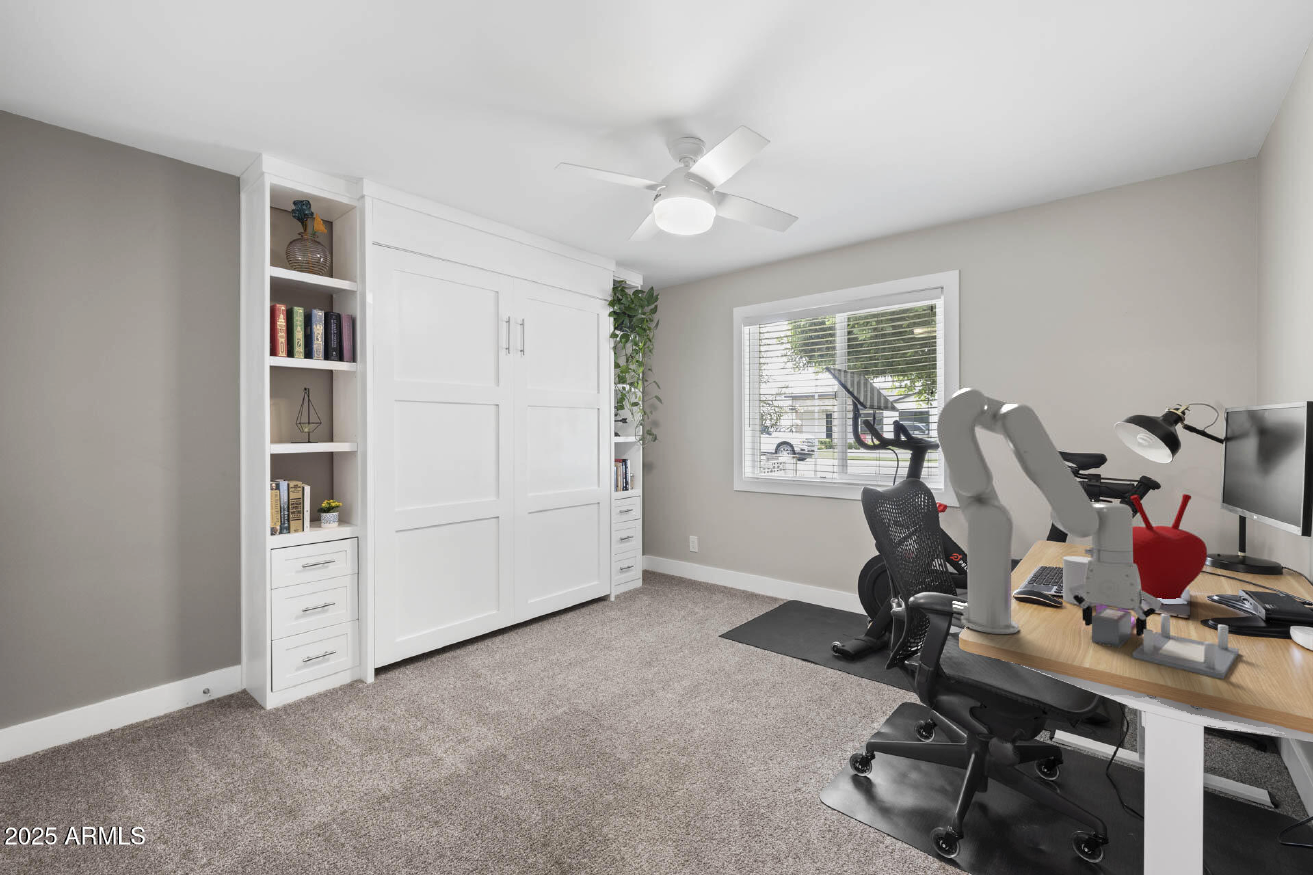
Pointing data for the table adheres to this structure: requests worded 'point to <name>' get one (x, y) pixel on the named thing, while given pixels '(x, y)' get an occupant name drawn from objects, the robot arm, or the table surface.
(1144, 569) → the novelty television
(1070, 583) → the light grey cylinder
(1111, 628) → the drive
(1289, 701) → the table surface
